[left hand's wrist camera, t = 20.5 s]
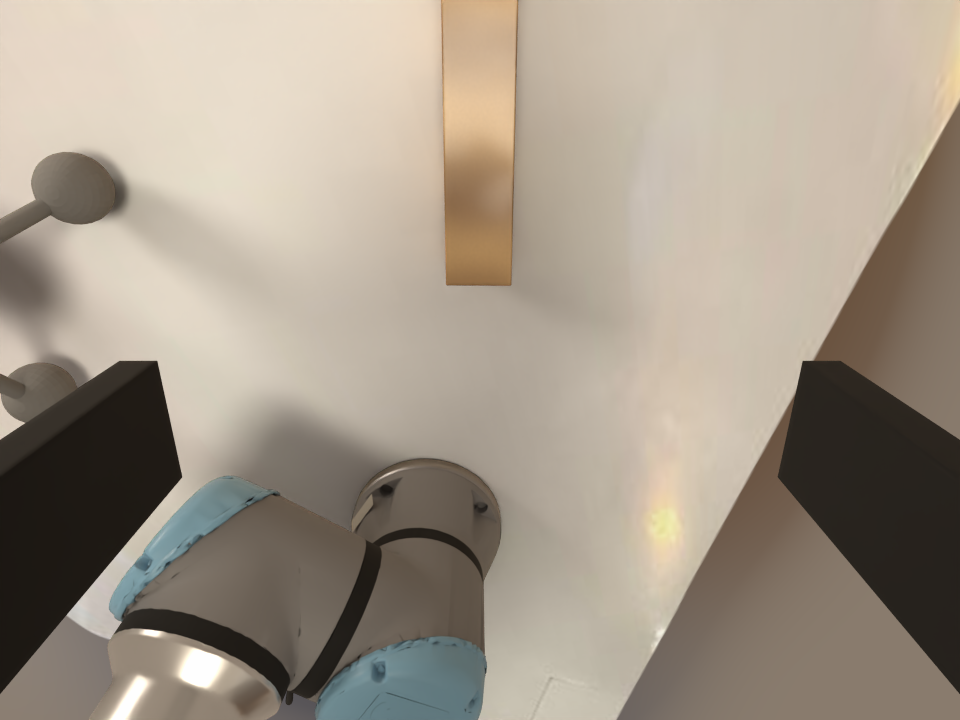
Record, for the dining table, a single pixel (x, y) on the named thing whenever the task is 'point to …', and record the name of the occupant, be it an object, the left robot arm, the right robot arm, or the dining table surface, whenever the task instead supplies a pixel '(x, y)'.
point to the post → (479, 138)
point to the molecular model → (70, 198)
